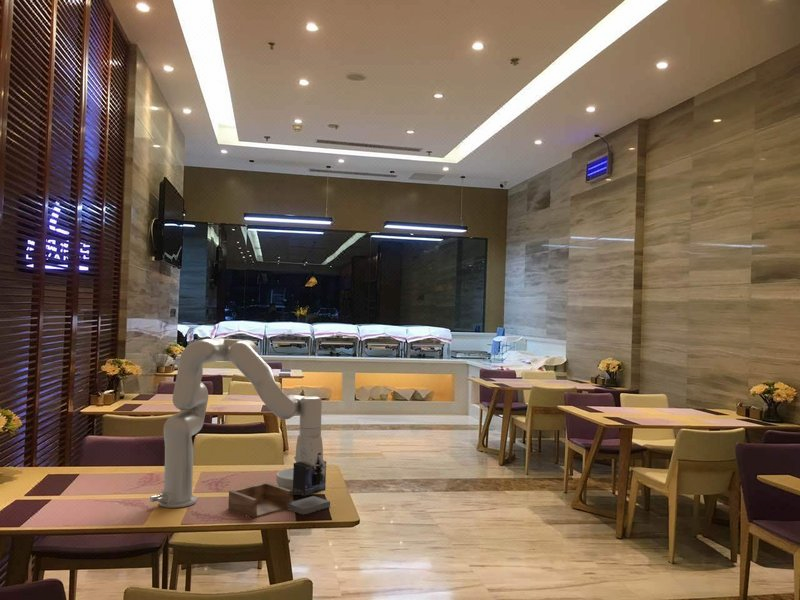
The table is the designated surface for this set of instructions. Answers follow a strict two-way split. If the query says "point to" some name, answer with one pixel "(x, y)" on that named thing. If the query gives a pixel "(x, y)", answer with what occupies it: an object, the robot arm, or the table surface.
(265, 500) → the box
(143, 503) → the table surface
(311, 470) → the small box
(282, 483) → the cereal bowl
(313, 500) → the slate stand
